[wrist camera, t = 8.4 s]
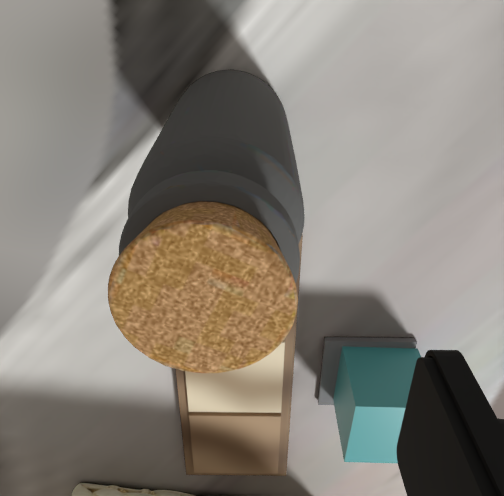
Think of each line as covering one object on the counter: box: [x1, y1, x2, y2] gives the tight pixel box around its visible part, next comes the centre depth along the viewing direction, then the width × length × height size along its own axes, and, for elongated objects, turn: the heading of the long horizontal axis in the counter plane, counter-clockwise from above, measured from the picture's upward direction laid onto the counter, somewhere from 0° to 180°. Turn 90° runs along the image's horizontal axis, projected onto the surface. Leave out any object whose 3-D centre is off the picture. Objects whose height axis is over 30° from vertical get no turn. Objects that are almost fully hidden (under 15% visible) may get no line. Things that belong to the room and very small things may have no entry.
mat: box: [318, 337, 417, 405], centre depth 33 cm, size 6×6×1 cm
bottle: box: [108, 70, 304, 373], centre depth 18 cm, size 6×6×15 cm
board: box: [176, 236, 302, 476], centre depth 33 cm, size 22×8×1 cm, turn 0°
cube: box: [333, 346, 421, 463], centre depth 31 cm, size 5×5×5 cm
